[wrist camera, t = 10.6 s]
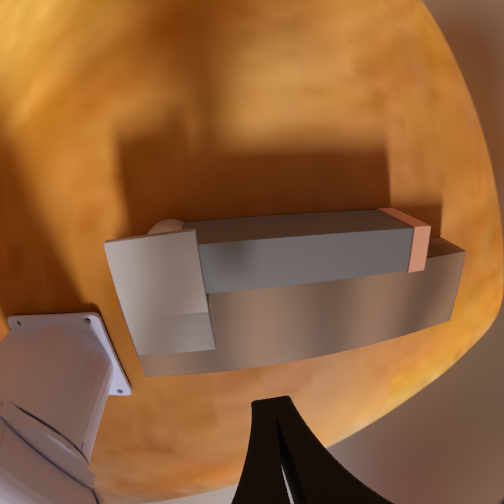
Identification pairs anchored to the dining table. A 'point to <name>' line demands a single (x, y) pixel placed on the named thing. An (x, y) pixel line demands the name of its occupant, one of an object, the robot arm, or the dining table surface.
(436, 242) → the rail
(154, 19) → the dining table surface
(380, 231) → the stool leg
